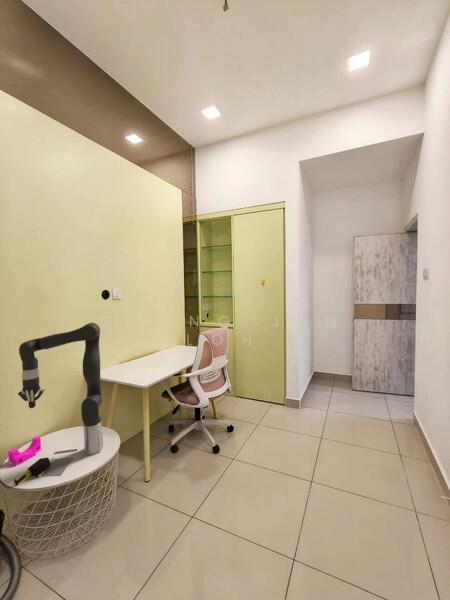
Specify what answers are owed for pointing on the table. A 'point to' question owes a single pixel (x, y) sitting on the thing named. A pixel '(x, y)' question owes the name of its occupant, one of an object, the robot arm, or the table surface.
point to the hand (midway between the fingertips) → (32, 407)
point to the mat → (56, 467)
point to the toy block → (25, 452)
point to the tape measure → (34, 469)
